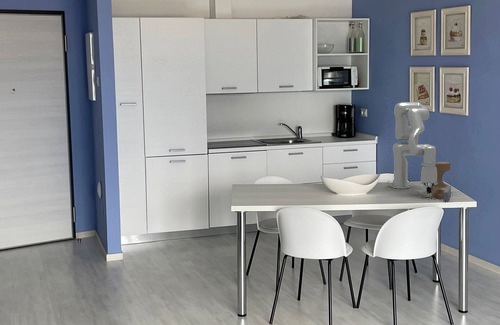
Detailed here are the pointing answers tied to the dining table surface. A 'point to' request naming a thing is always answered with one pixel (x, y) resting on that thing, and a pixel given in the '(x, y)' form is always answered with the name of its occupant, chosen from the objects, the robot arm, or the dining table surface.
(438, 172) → the decorative block
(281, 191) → the dining table surface
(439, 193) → the walnut block
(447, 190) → the charcoal board
